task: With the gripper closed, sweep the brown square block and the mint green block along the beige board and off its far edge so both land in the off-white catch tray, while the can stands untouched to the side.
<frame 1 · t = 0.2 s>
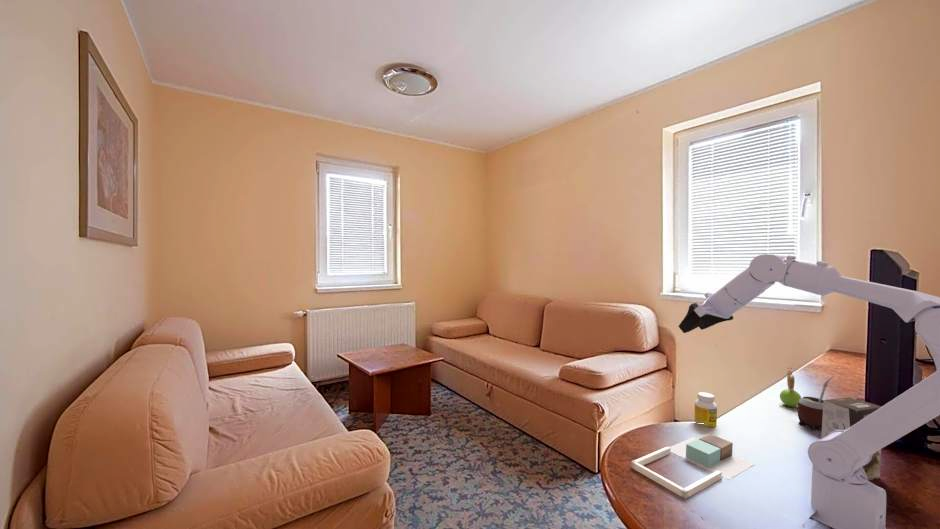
hand: (690, 327, 92), 31 cm above the table, tool tilted 45°, fingers open, 7 cm apart
mint green block: (702, 459, 86), point 1 cm above the table, touching beige board
supplement bottle: (705, 428, 105), on the table
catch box: (675, 479, 80), on the table
beige board: (708, 462, 87), on the table
brown square block: (715, 452, 89), point 1 cm above the table, touching beige board
coffee box: (849, 474, 84), on the table
mate gourd: (814, 427, 107), on the table
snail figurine: (789, 406, 122), on the table
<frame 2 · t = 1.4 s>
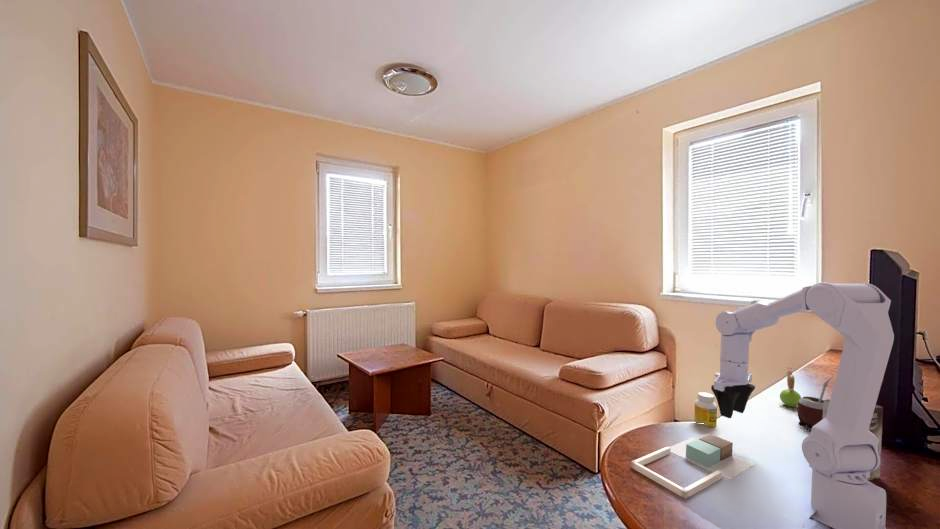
hand: (732, 414, 92), 9 cm above the table, tool pointing down, fingers open, 5 cm apart
nothing on the table moved.
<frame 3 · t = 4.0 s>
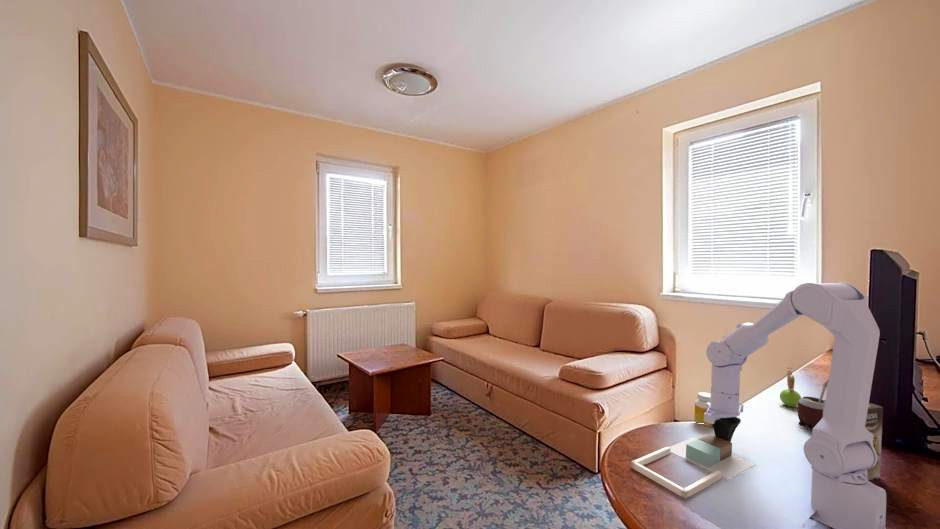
hand: (722, 445, 90), 2 cm above the table, tool pointing down, fingers closed
brown square block: (714, 453, 89), point 2 cm above the table, touching gripper
everything else where it was.
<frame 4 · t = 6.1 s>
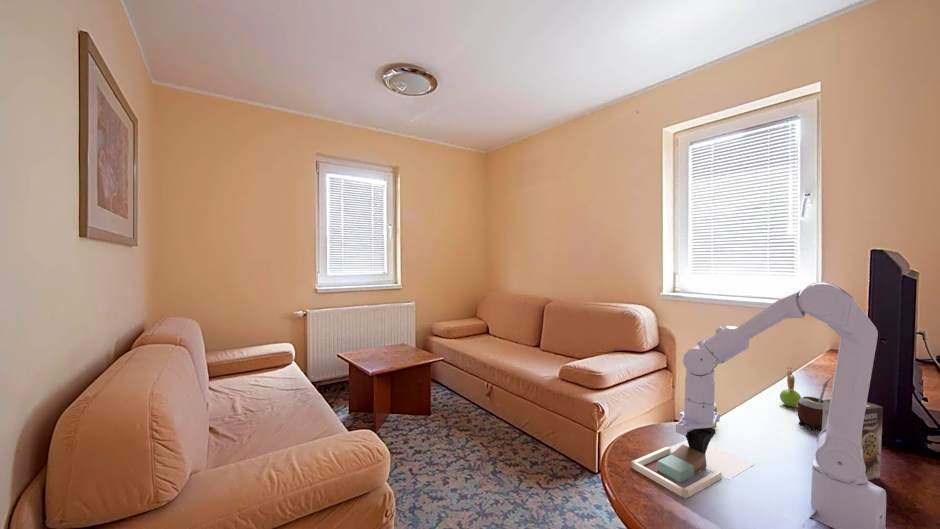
hand: (697, 457, 85), 2 cm above the table, tool pointing down, fingers closed
mint green block: (675, 476, 80), point 1 cm above the table, touching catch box
brown square block: (689, 466, 83), point 1 cm above the table, tilted 14°, touching gripper
everything else where it was.
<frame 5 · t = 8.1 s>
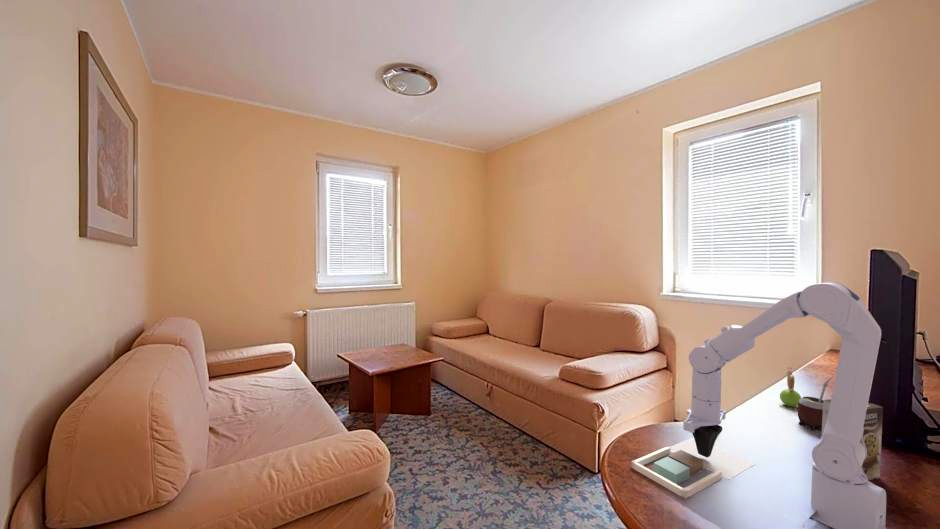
hand: (704, 454, 86), 2 cm above the table, tool pointing down, fingers closed
mint green block: (671, 478, 80), point 1 cm above the table, touching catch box
brown square block: (685, 470, 83), point 1 cm above the table, touching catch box
everything else where it was.
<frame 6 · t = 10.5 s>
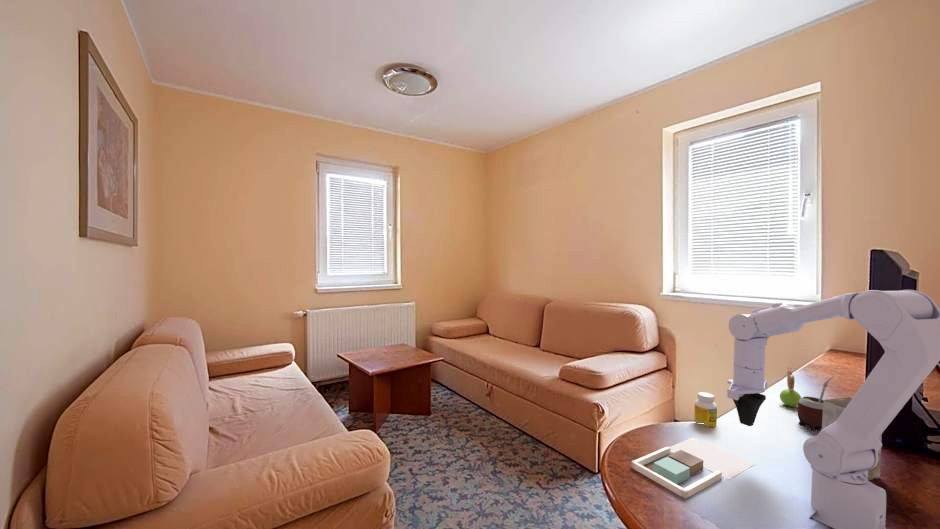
hand: (746, 424, 86), 10 cm above the table, tool pointing down, fingers closed
nothing on the table moved.
at the end: brown square block inside the target area (4.1 cm from its centre), point 0.6 cm above the table; mint green block inside the target area (1.6 cm from its centre), point 0.6 cm above the table; brown square block touching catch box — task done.
